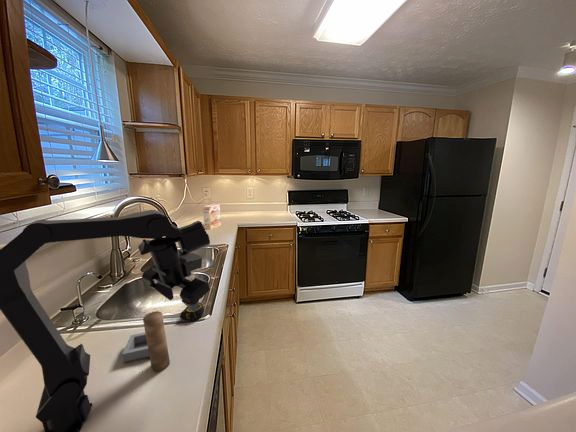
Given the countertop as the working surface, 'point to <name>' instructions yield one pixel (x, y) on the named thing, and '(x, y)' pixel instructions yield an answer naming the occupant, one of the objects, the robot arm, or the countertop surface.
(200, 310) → the tape measure
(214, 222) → the coffeecake box
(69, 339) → the countertop surface
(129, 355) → the pocket block
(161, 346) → the peg
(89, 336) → the countertop surface
